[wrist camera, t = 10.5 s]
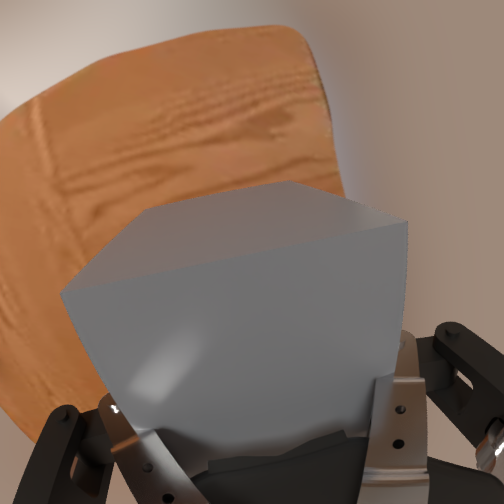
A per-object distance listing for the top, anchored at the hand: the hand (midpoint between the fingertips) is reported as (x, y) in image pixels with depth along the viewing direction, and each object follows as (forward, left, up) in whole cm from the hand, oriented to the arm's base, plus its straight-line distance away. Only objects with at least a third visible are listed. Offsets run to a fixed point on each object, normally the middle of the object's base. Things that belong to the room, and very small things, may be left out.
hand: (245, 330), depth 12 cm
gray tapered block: (0, 0, -3) cm, 3 cm away
